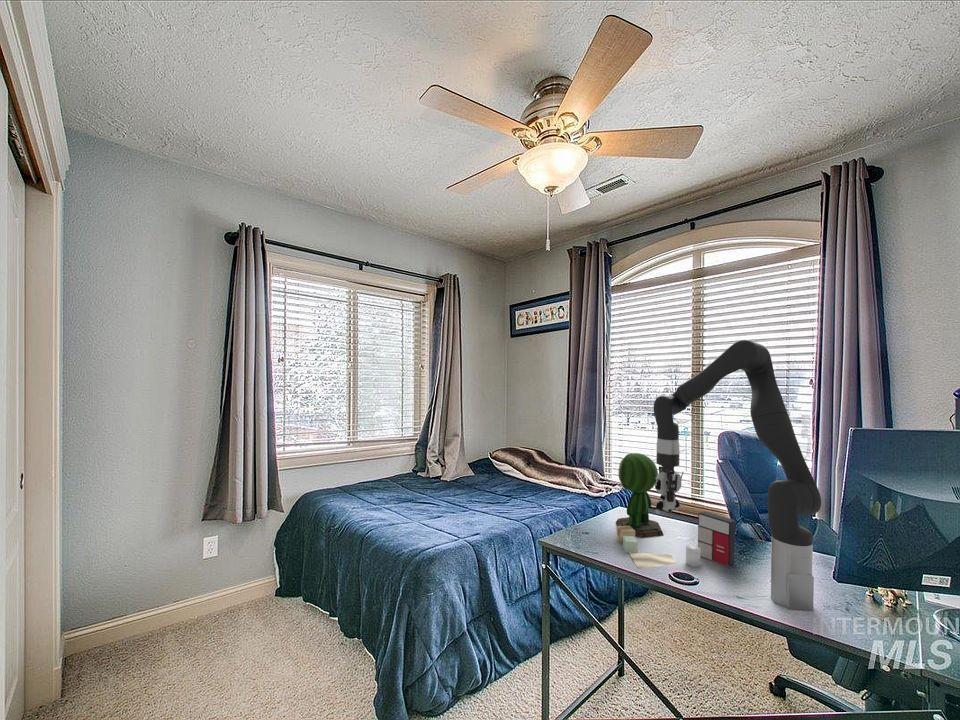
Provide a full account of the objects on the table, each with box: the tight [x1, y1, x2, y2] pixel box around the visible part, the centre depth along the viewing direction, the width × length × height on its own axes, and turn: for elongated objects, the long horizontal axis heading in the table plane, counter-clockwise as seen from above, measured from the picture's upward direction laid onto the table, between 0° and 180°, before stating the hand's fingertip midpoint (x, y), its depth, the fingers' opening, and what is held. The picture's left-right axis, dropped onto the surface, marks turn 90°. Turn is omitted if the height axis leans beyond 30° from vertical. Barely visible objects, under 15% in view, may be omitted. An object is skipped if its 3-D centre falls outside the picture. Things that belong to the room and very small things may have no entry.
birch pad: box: [629, 552, 678, 570], centre depth 148 cm, size 12×14×1 cm
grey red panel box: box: [697, 510, 737, 566], centre depth 151 cm, size 11×4×15 cm, turn 34°
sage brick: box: [622, 536, 639, 553], centre depth 159 cm, size 5×4×4 cm
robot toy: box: [654, 471, 684, 515], centre depth 158 cm, size 12×4×15 cm, turn 114°
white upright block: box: [685, 544, 702, 568], centre depth 147 cm, size 4×4×6 cm
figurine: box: [615, 452, 664, 539], centre depth 178 cm, size 17×20×30 cm
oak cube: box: [616, 525, 636, 546], centre depth 166 cm, size 5×5×5 cm
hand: (667, 499), depth 158 cm, fingers closed on robot toy, 5 cm apart
